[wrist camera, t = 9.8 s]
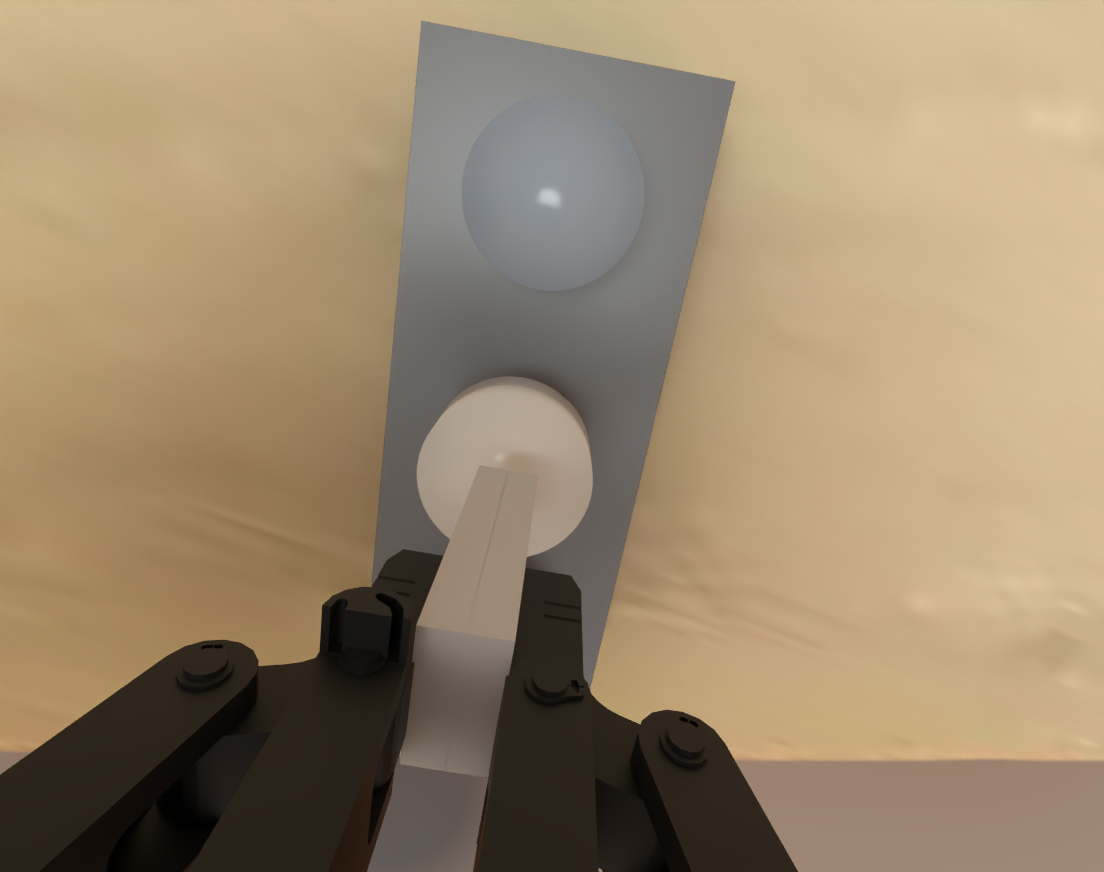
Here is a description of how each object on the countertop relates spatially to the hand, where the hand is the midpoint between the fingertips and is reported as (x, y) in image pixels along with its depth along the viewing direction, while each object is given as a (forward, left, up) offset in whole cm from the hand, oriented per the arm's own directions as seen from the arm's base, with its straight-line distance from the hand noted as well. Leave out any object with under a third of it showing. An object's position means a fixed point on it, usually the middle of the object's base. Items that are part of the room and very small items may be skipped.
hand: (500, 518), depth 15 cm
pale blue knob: (0, +8, -12) cm, 14 cm away
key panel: (0, 0, -14) cm, 14 cm away
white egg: (0, 0, -10) cm, 10 cm away
